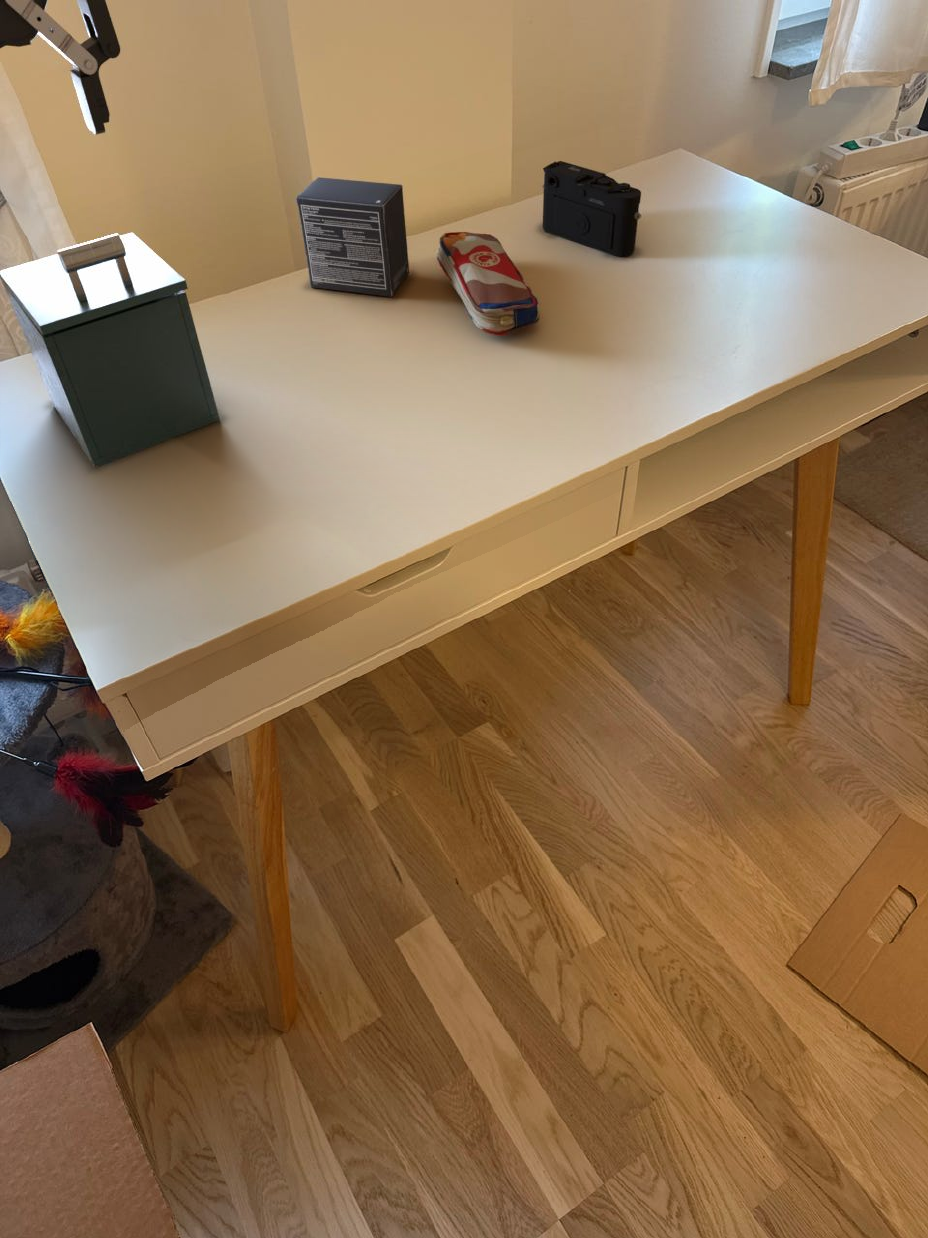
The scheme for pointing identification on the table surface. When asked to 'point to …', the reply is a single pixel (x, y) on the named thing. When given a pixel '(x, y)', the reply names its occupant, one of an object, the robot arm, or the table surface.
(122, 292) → the lid
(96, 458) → the bread bin
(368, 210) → the small box
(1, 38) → the robot arm
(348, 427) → the table surface
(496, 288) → the pencil case
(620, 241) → the camera
